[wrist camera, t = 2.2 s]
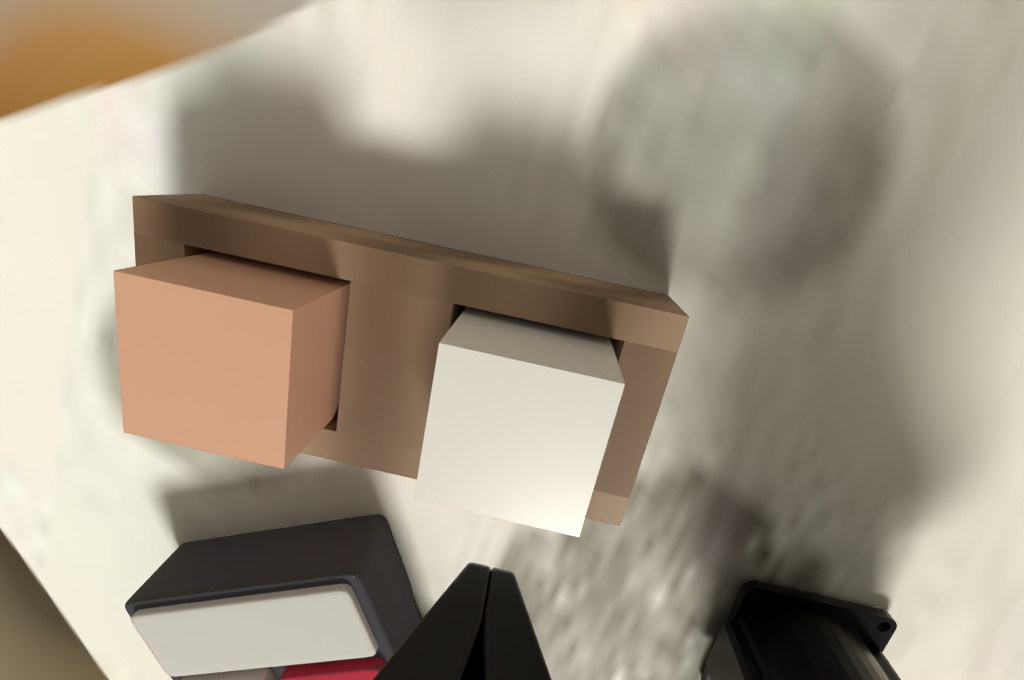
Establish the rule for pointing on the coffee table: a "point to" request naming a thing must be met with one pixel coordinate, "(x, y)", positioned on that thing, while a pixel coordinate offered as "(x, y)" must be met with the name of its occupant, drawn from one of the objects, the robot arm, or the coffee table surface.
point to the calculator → (279, 604)
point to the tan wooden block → (230, 354)
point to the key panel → (428, 324)
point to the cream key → (518, 420)
